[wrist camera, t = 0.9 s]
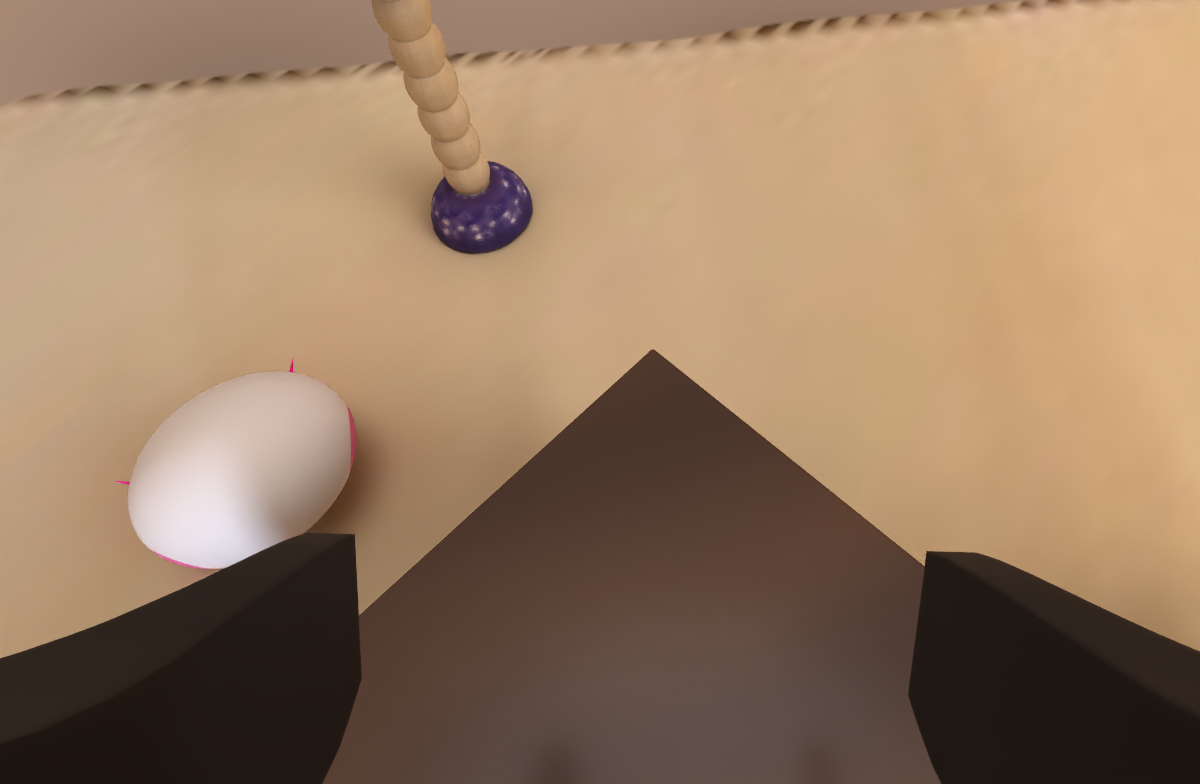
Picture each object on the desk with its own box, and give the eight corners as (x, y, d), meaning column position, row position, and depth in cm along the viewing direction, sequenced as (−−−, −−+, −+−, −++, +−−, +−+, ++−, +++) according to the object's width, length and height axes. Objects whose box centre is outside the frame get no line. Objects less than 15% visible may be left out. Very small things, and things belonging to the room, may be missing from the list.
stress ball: (366, 442, 37) (267, 309, 33) (431, 510, 30) (315, 352, 27) (202, 562, 34) (81, 431, 31) (232, 664, 28) (81, 511, 25)
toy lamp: (490, 278, 36) (338, -135, 21) (397, 239, 37) (195, -171, 23) (551, 193, 38) (449, -242, 23) (460, 159, 39) (310, -270, 25)
